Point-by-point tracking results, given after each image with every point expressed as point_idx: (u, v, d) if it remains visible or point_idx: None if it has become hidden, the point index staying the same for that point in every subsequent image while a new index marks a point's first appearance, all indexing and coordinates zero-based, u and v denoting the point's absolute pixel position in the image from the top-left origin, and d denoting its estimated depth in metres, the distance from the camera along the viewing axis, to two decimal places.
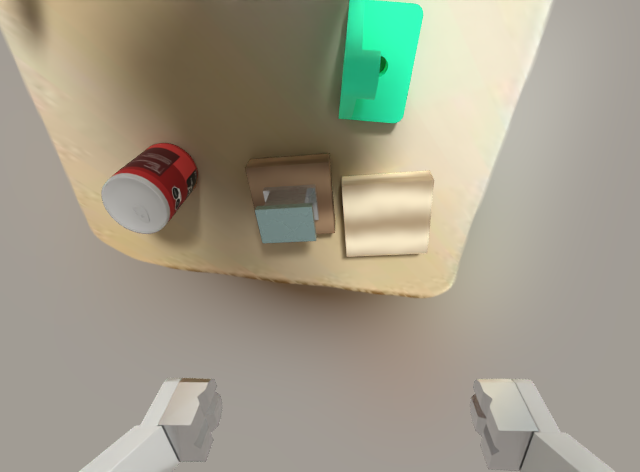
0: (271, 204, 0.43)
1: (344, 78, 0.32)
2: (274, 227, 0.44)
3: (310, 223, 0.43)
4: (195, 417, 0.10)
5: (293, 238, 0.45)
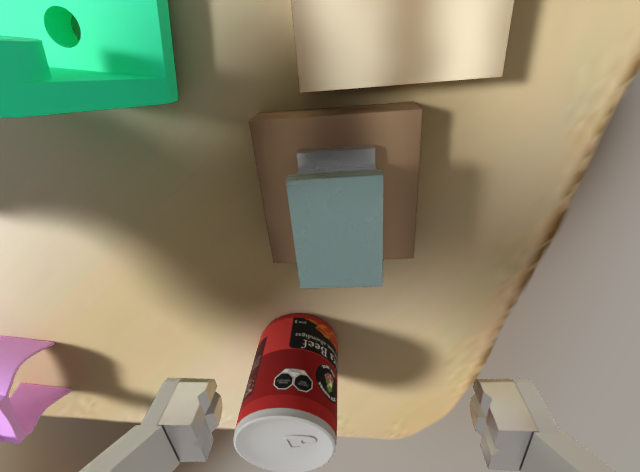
0: None
1: None
2: (340, 260, 0.20)
3: (331, 186, 0.18)
4: (195, 417, 0.10)
5: (373, 225, 0.19)
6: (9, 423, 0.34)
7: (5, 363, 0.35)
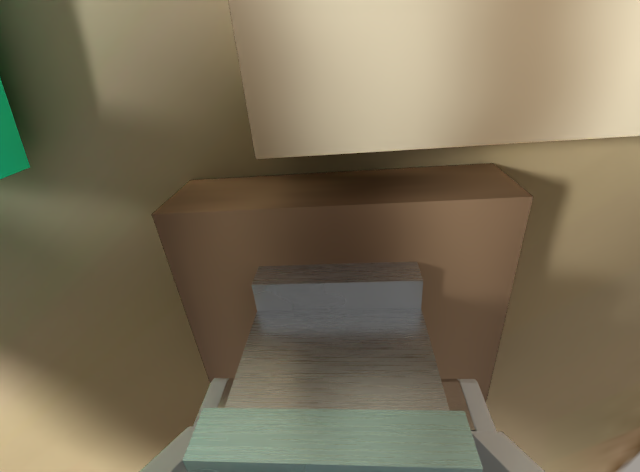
0: None
1: None
2: None
3: None
4: None
5: None
6: None
7: None
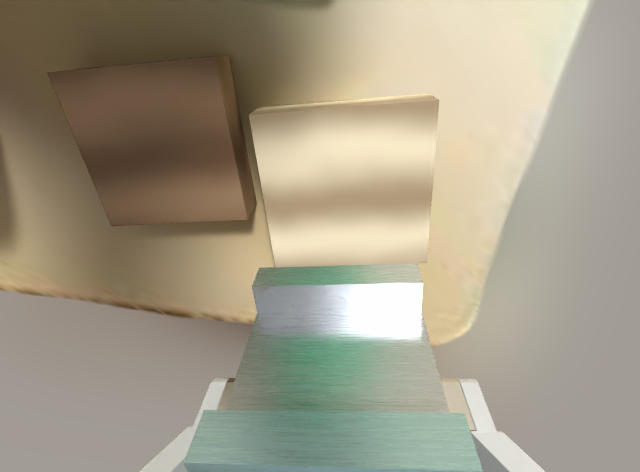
0: None
1: None
2: None
3: None
4: None
5: None
6: None
7: None
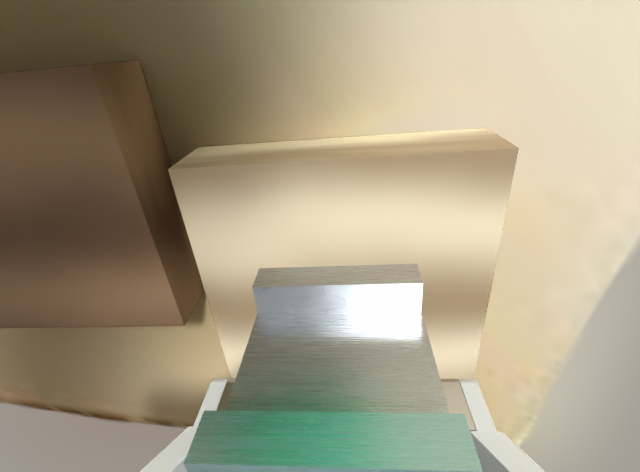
0: None
1: None
2: None
3: None
4: None
5: None
6: None
7: None
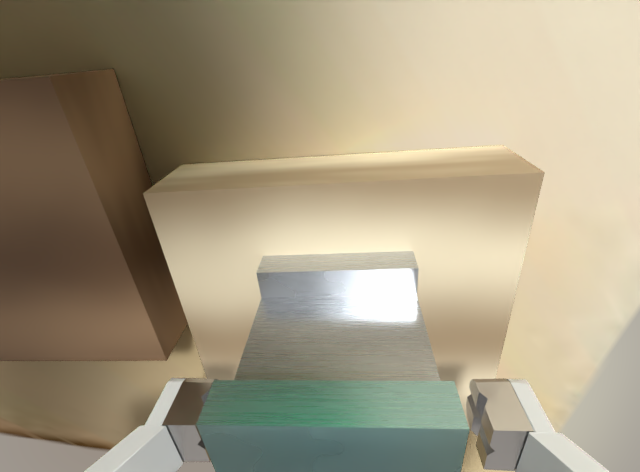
0: None
1: None
2: None
3: (320, 440, 0.07)
4: None
5: None
6: None
7: None
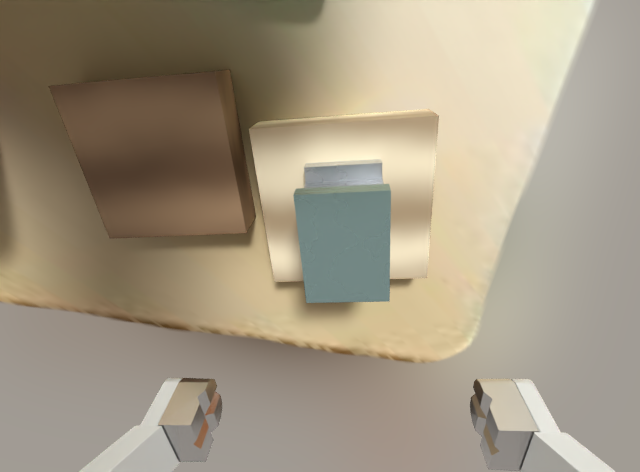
0: None
1: None
2: (347, 275, 0.20)
3: (338, 200, 0.18)
4: (195, 417, 0.10)
5: (380, 240, 0.19)
6: None
7: None
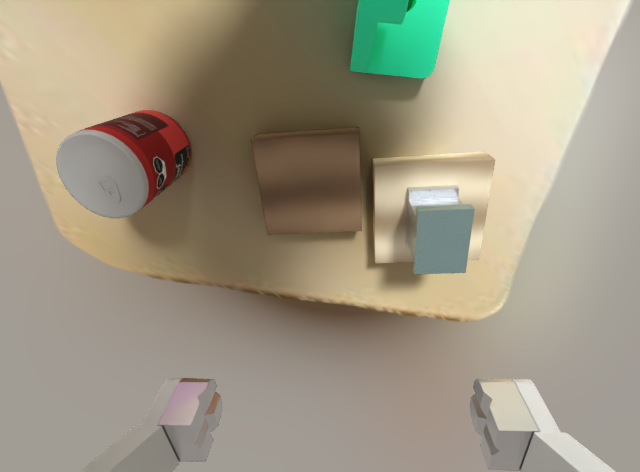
0: (413, 252, 0.35)
1: None
2: (442, 257, 0.34)
3: (443, 214, 0.32)
4: (195, 417, 0.10)
5: (465, 236, 0.33)
6: None
7: None
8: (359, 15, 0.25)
